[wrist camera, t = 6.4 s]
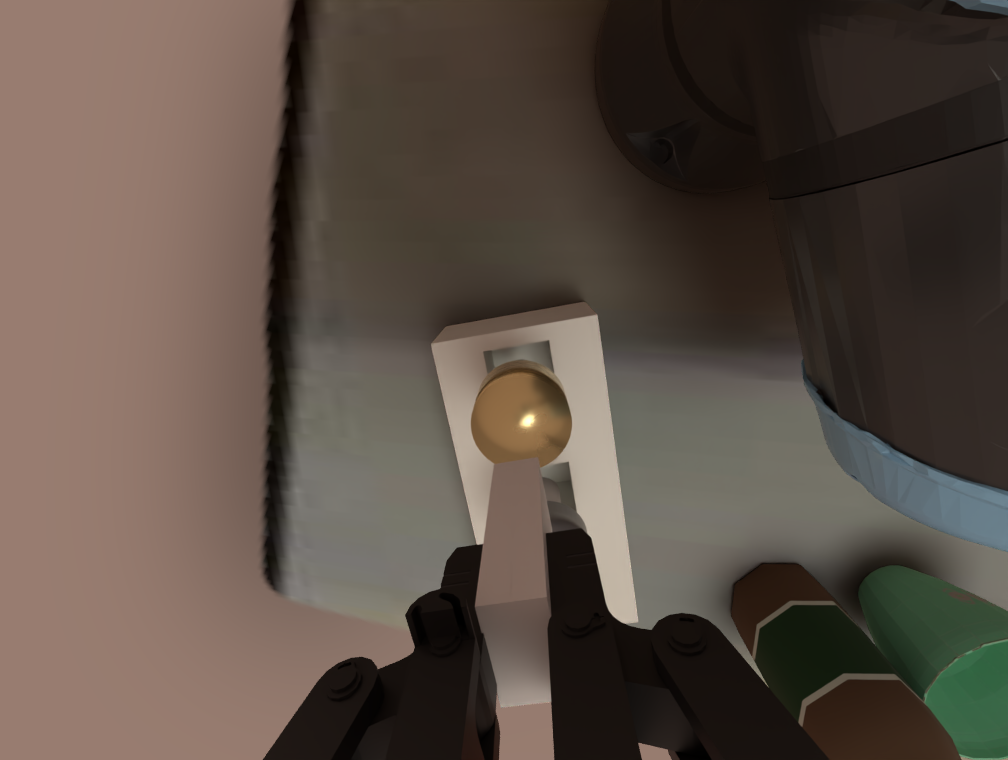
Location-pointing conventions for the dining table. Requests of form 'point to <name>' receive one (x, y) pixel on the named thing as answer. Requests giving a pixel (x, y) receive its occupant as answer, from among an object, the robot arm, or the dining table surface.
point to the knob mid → (560, 509)
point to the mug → (945, 653)
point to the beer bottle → (832, 671)
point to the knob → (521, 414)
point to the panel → (590, 450)
